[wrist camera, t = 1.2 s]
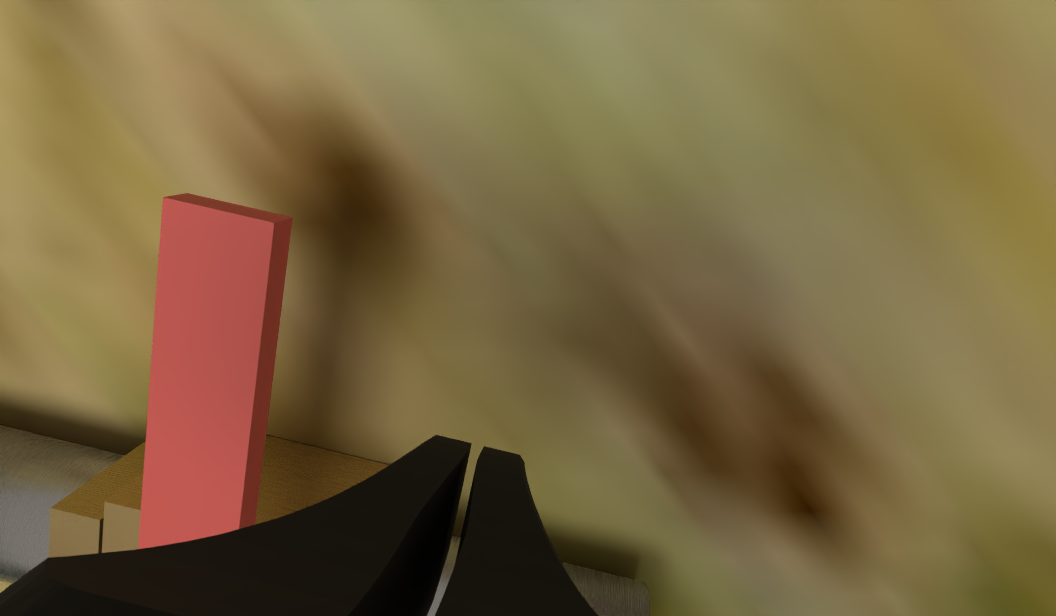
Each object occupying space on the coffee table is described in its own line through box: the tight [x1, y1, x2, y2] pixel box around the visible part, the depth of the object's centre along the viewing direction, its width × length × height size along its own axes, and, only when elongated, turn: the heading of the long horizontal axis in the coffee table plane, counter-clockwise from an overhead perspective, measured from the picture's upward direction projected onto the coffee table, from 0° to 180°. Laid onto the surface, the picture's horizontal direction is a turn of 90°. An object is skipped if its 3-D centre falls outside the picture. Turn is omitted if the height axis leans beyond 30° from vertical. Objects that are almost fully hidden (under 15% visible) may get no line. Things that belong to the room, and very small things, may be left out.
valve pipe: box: [0, 425, 650, 616], centre depth 22 cm, size 26×6×6 cm, turn 78°
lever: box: [138, 193, 292, 549], centre depth 17 cm, size 14×4×1 cm, turn 168°
